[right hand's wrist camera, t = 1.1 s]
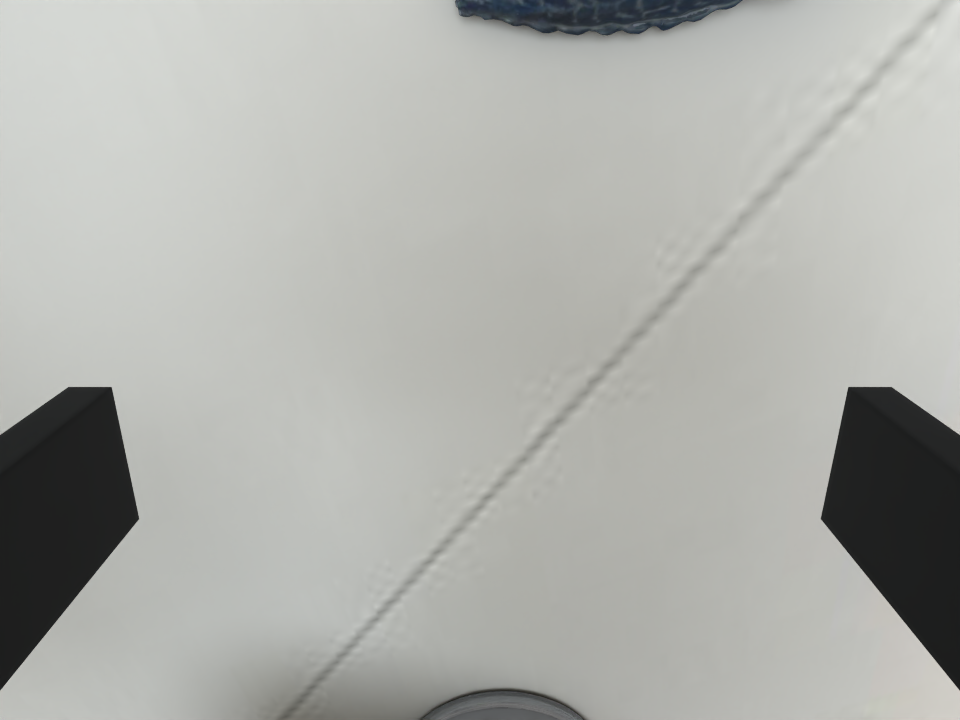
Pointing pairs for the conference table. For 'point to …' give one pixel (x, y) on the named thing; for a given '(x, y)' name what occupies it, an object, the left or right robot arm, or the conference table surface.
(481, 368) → the conference table surface
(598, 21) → the fish model
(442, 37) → the conference table surface
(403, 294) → the conference table surface
